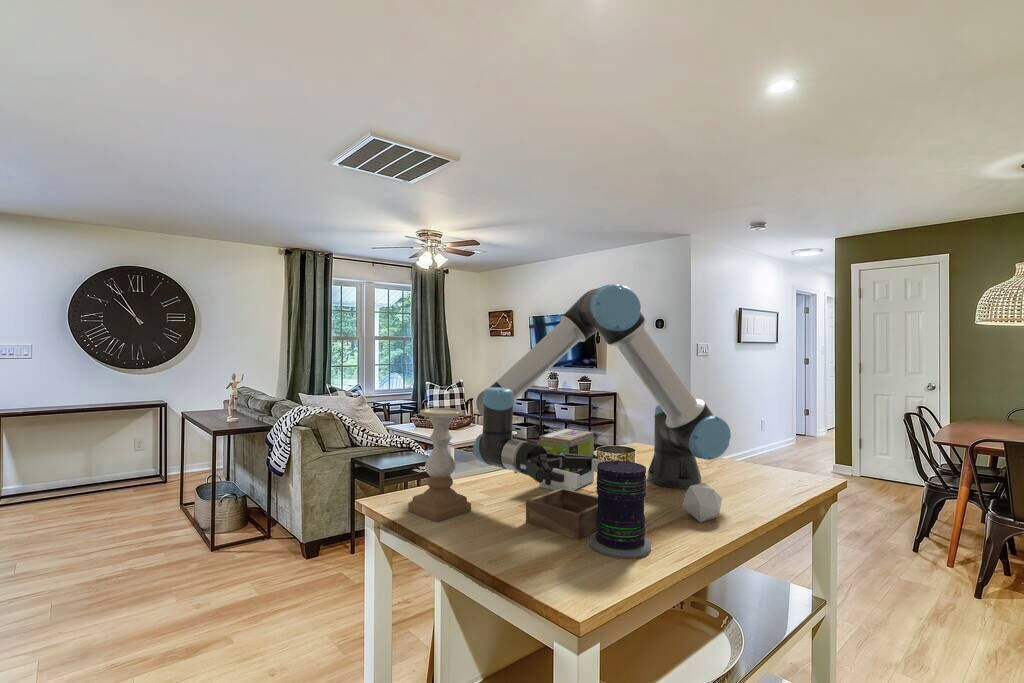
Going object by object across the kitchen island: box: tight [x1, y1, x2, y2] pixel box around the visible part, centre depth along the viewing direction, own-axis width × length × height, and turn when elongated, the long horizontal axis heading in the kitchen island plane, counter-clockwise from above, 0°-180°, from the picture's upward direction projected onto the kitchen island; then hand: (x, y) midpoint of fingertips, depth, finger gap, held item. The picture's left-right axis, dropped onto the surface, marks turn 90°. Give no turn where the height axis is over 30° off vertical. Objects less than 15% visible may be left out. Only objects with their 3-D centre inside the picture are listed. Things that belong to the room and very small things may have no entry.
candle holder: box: [407, 407, 472, 523], centre depth 122 cm, size 11×11×24 cm
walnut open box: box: [525, 488, 598, 540], centre depth 116 cm, size 14×14×5 cm
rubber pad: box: [589, 531, 652, 560], centre depth 103 cm, size 12×12×1 cm
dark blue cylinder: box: [595, 460, 647, 550], centre depth 103 cm, size 10×10×15 cm
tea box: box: [538, 428, 595, 491], centre depth 147 cm, size 15×10×15 cm
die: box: [682, 482, 723, 523], centre depth 121 cm, size 8×9×10 cm
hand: (598, 475), depth 107 cm, fingers open, 13 cm apart
